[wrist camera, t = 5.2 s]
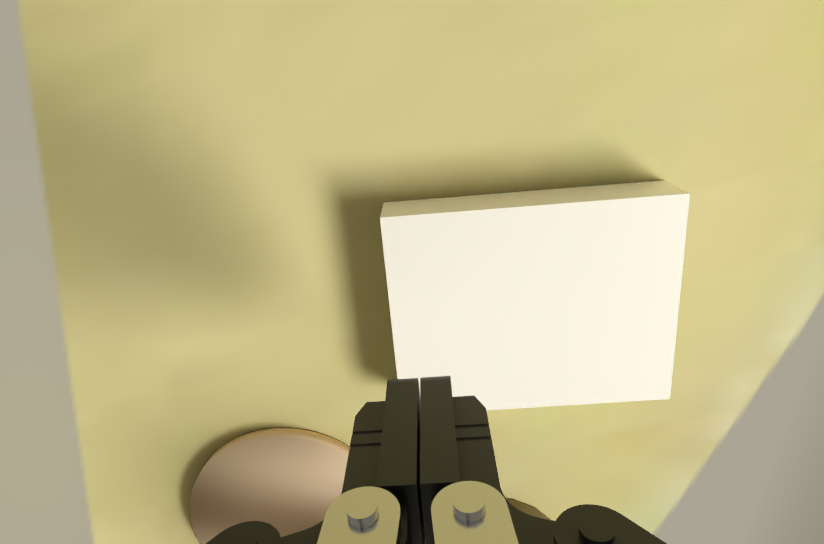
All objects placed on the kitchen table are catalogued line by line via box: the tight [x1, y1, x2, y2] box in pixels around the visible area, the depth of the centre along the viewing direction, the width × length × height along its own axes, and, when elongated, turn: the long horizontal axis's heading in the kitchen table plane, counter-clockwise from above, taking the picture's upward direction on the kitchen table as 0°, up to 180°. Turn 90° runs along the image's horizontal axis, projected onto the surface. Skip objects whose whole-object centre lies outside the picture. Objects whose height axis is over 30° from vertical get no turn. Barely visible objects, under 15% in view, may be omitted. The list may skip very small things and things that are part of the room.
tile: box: [380, 180, 690, 410], centre depth 19 cm, size 7×2×9 cm
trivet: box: [189, 428, 350, 544], centre depth 23 cm, size 8×8×1 cm
